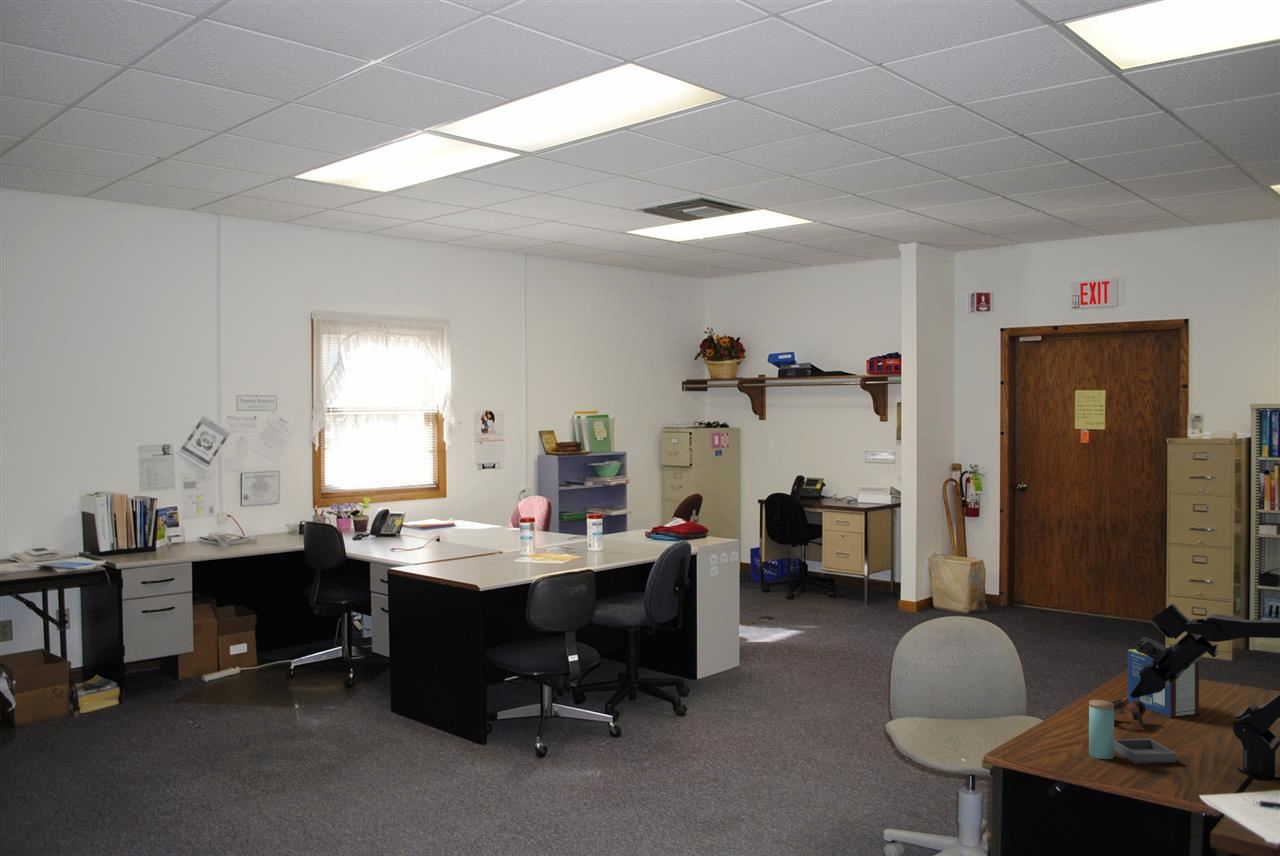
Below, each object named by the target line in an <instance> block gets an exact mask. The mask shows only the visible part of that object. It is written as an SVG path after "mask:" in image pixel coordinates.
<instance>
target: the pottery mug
mask: <svg viewBox="0 0 1280 856" xmlns="http://www.w3.org/2000/svg"><path fill="white" fill-rule="evenodd" d="M1111 702H1112V703H1113V704H1114V713H1117V714H1120V715H1125V711H1124V707H1125V708H1126V709H1127V710H1128V711H1129V713H1131V714H1132V718H1133V720H1134V721H1133V722H1132V723H1131V724H1132V726H1133V729H1134V731H1135V730H1137V731H1139V730H1141V729H1143V728H1144V727H1145V724H1144V719H1143V717H1144V715H1145V714H1146V707H1145V705H1144V703H1143V702H1142V701H1139V700H1137V701H1133V702H1129V701H1128V697H1121V698H1118V699H1115V700H1113V701H1111Z"/></svg>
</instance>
